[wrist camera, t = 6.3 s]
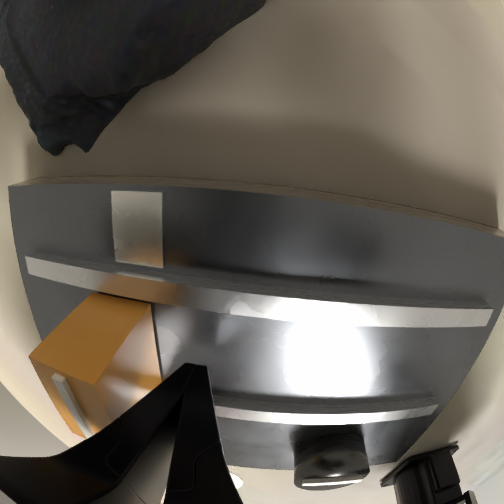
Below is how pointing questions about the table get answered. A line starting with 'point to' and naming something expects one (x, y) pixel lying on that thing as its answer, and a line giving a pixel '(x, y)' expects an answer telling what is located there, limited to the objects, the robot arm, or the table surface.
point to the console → (277, 304)
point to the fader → (99, 361)
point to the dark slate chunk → (100, 56)
